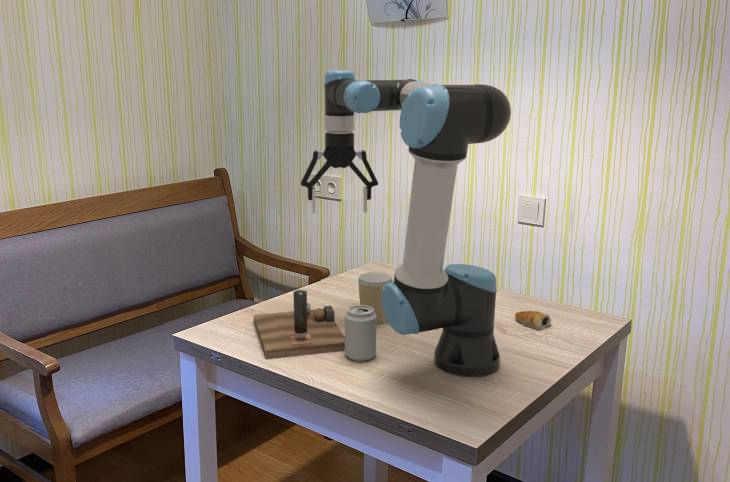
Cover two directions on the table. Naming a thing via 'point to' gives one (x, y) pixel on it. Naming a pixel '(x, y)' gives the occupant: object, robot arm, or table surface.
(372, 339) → the can
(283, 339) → the nutcracker board
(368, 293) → the coffee cup
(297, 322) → the lever
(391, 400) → the table surface
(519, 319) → the pastry
